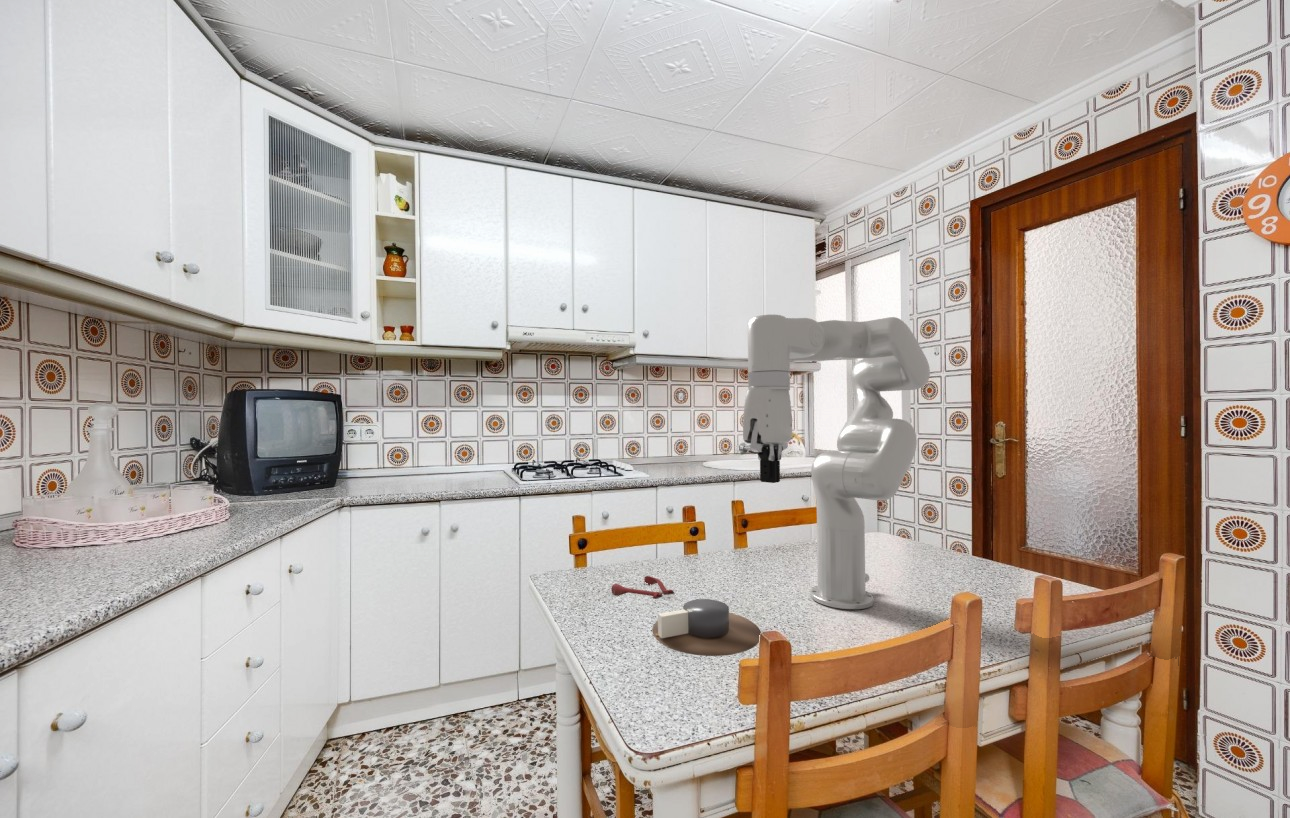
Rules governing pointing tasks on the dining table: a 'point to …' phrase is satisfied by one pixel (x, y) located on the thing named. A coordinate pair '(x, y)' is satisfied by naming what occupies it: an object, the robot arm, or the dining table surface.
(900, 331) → the robot arm
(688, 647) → the dial plate
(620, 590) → the pliers
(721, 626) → the dial knob
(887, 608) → the dining table surface
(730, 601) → the dining table surface
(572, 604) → the dining table surface
